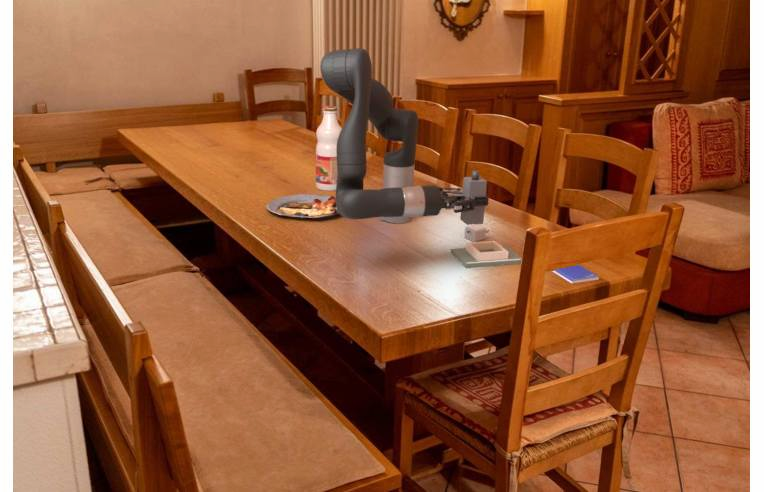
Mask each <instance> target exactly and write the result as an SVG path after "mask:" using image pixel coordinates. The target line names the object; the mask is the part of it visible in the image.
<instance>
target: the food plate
mask: <svg viewBox="0 0 764 492" xmlns="http://www.w3.org/2000/svg"><path fill="white" fill-rule="evenodd" d="M266 208H267V209H268V211H269V212H272V213H273V214H277V215H279V216H286V217H289V218H290V217H291V218H301V219H304V218H309V219H311V218H312V219H322V218H327V217H333V216H336V215H340V214H339V212H338V210H337V207H336V196H334V195H324V194H312V193H311V194H310V193H309V194H308V193H303V194H300V193H299V194H292V195H287V196H286V195H285V196H284V195H283V196H280V197H276V198H275V199H274V198H273V199H272V200H271V201H270V202H269V203H267V204H266Z"/></svg>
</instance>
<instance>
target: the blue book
mask: <svg viewBox="0 0 764 492" xmlns="http://www.w3.org/2000/svg"><path fill="white" fill-rule="evenodd" d="M552 273H554V274H556V275H558V276H559V277H561V278H562V279H564V280H565V281H567V282H568V283H570V284H573V285H574V284H578V283H586V282H592V281H597V280H598V281H599V280H600V276H599V275H597V274H596V273H594V272H592V271H591V270H588V268H585V267H583V266H581V265H580V264H578V265H576V266H571V267H566V268H561V269H557V270H554V271H552Z"/></svg>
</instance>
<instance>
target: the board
mask: <svg viewBox="0 0 764 492" xmlns="http://www.w3.org/2000/svg"><path fill="white" fill-rule="evenodd" d="M449 252H451V253H452V254H453V255H454V256H455V257H456V258H457V259H458V260H459V261H460V262H461V263H460V262H459V261H458V260H457V259H456V260H457V261H458V262H459V263H460V264H461V265H462V266H463V267H464V268H465V269H467V268H468V269H469V268H478V267H479V268H480V267H481V268H482V266H483V267H493V265H496V266H503V265H502V264H510V265H516V264H515V263H518V264H517V265H520V264H521V259H523V258H521V257H520V256H519V255H518V254H517V253H515V252H514V251H513V250H512V249H510V248H509V246H507V245H505V244H504V245H501V244H499V243H498V242H497V241H495V240H492V241H491V240H490V241H489V240H488V241H478V242H466V243H465V247H460V248H450V251H449ZM451 253H450V254H451ZM452 254H451V255H452ZM453 255H452V256H453ZM454 256H453V257H454ZM455 257H454V258H455ZM519 263H520V264H519ZM521 265H522V264H521Z"/></svg>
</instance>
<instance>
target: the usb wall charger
mask: <svg viewBox="0 0 764 492" xmlns="http://www.w3.org/2000/svg"><path fill="white" fill-rule="evenodd" d="M488 233H490V229H488V230H487V228H486V226H484V225H483V224H472V225H467V226H465V227H464V234H463V235H464V237H463V239H464V240H465V239H466V240H465V241H467V240H469V241H468V242H470V241H471V242H482V241H484V240H486V234H488ZM471 242H470V243H471Z"/></svg>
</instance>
